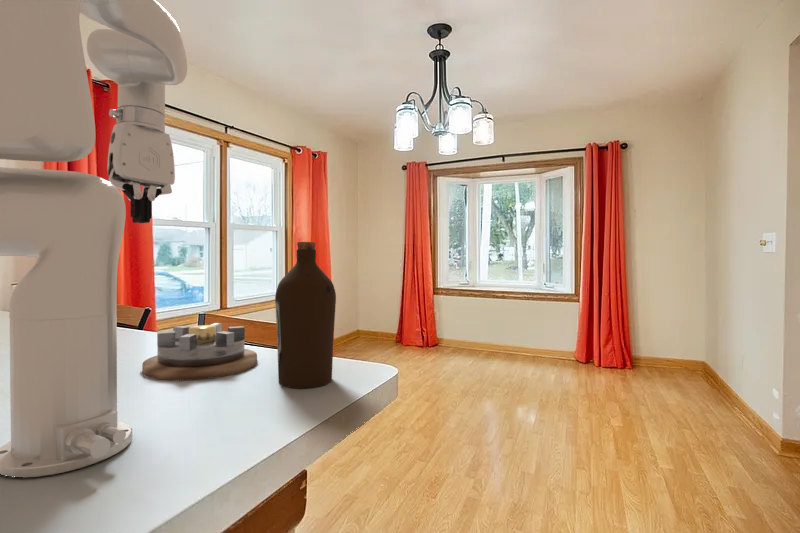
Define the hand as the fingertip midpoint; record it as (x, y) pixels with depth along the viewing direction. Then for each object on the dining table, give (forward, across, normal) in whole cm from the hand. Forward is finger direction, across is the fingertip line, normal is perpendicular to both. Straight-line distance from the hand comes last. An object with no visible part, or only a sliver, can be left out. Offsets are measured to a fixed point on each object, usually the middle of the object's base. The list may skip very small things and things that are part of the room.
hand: (141, 222), depth 79 cm
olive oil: (+29, +16, -26) cm, 42 cm away
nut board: (+28, +11, -2) cm, 30 cm away
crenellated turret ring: (+26, +11, -2) cm, 29 cm away
